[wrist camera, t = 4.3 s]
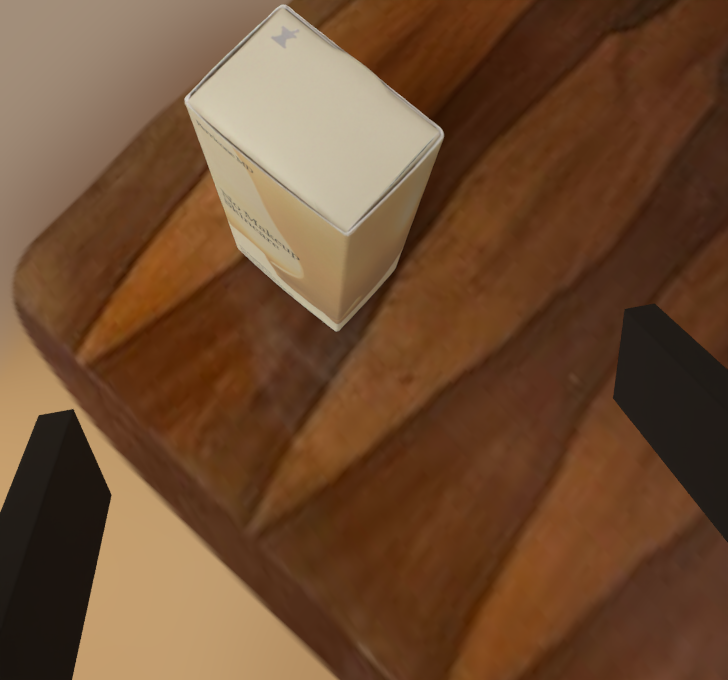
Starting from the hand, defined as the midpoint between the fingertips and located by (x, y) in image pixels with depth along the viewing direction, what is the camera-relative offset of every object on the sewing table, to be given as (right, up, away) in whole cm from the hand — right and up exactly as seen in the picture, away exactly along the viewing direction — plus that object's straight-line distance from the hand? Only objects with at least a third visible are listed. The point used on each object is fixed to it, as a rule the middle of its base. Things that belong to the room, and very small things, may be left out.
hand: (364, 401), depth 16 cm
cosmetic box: (-2, +5, +14) cm, 15 cm away
